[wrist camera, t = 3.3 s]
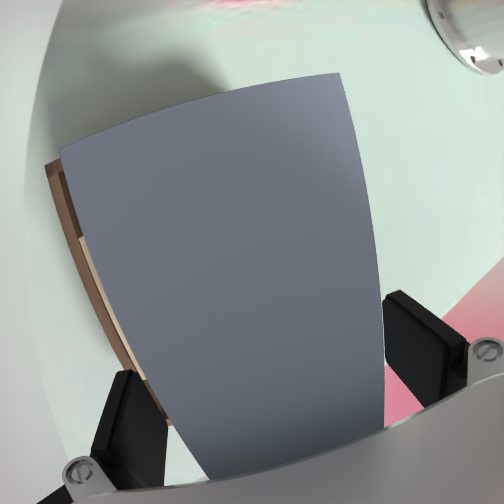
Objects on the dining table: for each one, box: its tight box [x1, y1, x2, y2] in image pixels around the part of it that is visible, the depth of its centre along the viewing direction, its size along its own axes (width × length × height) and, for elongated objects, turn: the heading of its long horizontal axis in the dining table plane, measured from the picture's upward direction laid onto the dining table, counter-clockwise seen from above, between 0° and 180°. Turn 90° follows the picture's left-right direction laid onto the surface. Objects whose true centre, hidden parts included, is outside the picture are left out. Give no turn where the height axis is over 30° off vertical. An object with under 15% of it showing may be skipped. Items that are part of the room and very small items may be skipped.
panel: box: [59, 73, 385, 480], centre depth 16 cm, size 4×16×20 cm, turn 14°
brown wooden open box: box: [45, 158, 173, 426], centre depth 22 cm, size 13×21×6 cm, turn 14°
